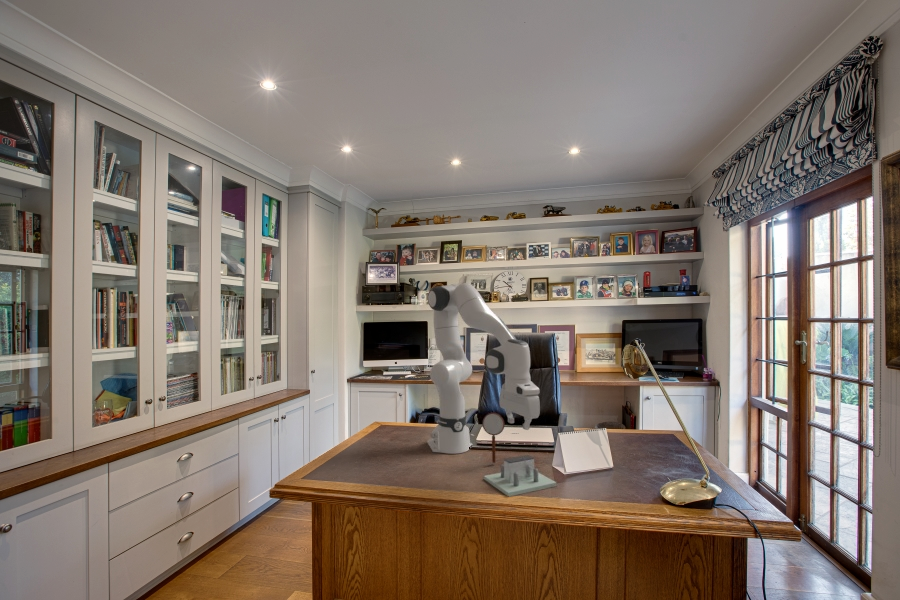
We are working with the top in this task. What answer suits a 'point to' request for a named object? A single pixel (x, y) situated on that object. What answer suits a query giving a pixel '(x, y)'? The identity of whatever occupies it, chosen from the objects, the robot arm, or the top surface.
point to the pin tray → (519, 483)
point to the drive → (519, 468)
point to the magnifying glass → (493, 428)
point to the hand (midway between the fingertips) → (518, 426)
